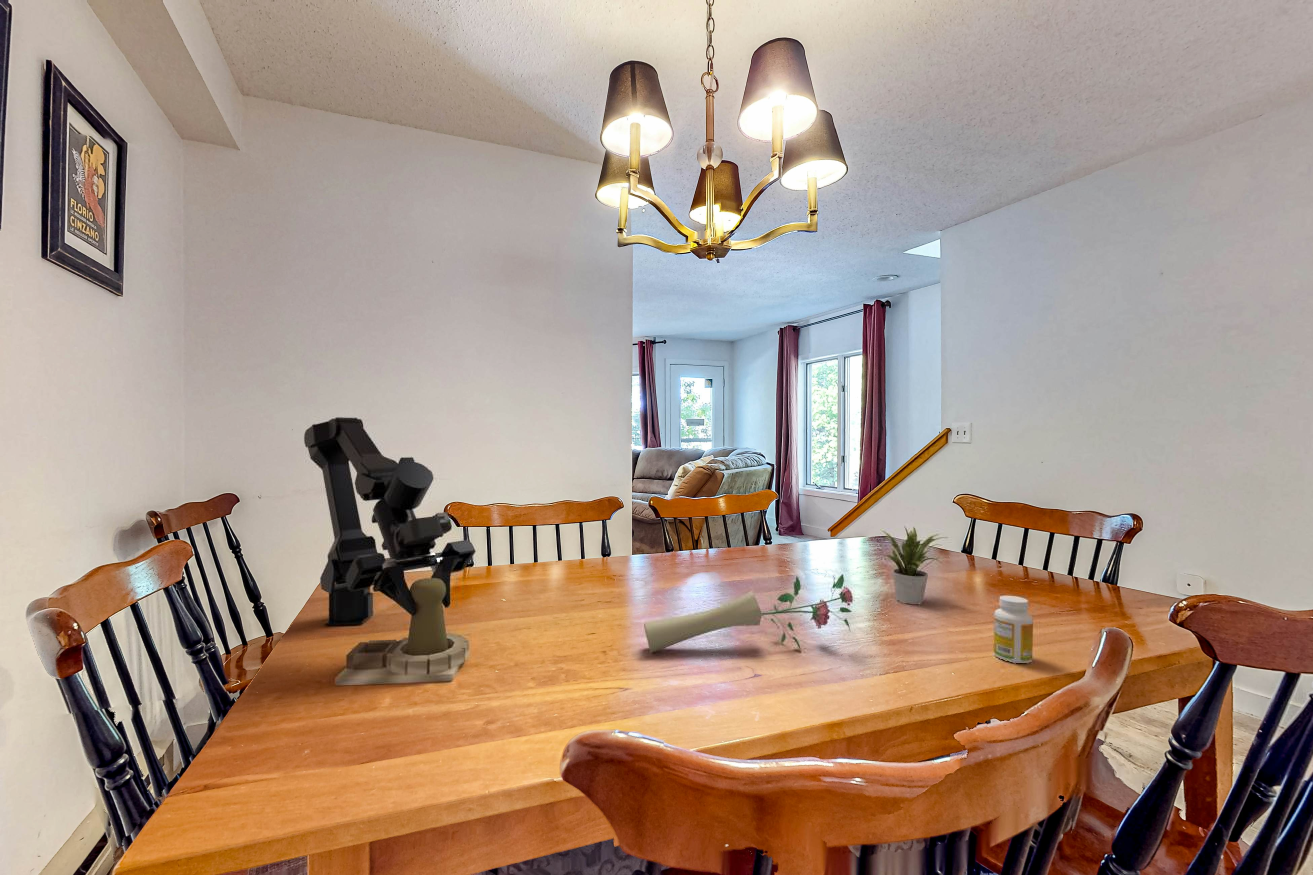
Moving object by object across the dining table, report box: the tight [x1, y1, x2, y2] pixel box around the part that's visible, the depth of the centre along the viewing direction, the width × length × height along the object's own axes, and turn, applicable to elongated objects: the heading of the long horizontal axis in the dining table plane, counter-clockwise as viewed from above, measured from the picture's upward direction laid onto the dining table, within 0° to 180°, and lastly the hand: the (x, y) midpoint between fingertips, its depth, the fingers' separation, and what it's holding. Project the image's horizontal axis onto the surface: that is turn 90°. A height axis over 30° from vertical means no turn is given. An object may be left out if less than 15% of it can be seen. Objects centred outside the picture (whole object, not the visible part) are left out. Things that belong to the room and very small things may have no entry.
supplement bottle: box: [993, 595, 1034, 664], centre depth 95 cm, size 5×5×10 cm
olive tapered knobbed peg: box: [406, 577, 448, 656], centre depth 89 cm, size 6×6×11 cm
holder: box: [334, 632, 470, 687], centre depth 89 cm, size 17×12×3 cm
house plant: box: [882, 525, 948, 605], centre depth 124 cm, size 14×14×16 cm
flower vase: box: [643, 573, 854, 654], centre depth 98 cm, size 12×12×35 cm
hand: (431, 610), depth 88 cm, fingers closed on olive tapered knobbed peg, 5 cm apart
